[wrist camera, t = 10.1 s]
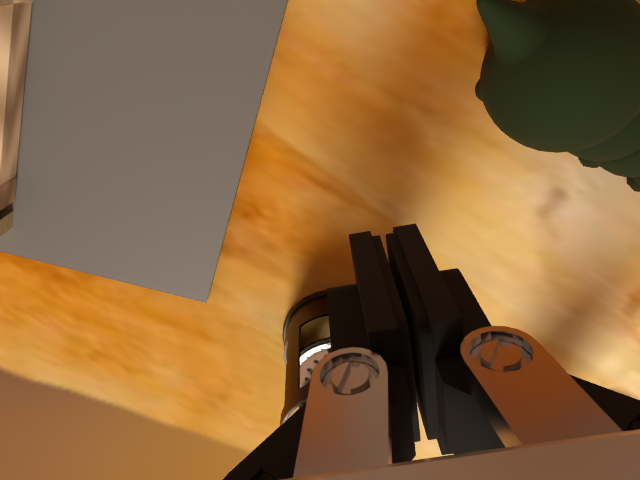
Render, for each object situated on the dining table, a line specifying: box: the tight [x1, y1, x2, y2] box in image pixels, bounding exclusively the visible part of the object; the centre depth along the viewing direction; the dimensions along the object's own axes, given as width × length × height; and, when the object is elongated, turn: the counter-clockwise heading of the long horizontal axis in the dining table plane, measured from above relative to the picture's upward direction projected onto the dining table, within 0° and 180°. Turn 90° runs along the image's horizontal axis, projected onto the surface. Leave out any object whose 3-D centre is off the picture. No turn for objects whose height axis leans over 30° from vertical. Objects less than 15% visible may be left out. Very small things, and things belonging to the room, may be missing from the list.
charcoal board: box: [0, 0, 288, 303], centre depth 35 cm, size 25×21×1 cm
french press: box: [280, 290, 332, 426], centre depth 34 cm, size 12×9×23 cm
